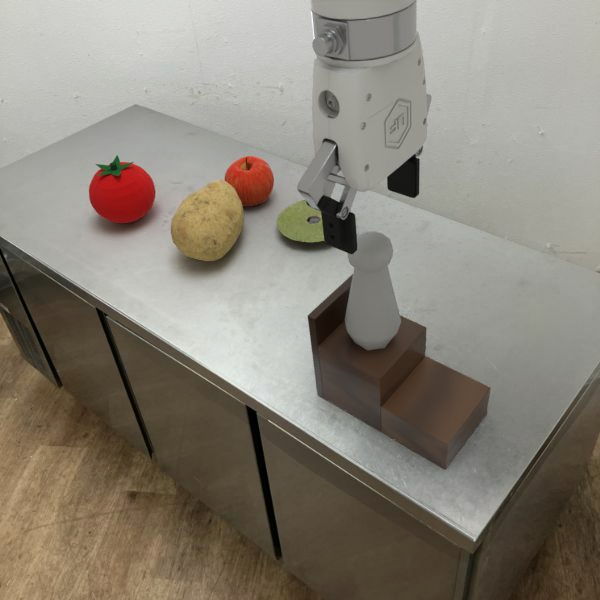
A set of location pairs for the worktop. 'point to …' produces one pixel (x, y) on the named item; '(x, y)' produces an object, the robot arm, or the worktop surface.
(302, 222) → the mat
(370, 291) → the salt shaker
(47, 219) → the worktop surface
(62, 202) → the worktop surface
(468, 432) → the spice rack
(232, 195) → the potato
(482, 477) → the worktop surface
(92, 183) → the tomato
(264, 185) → the apple
